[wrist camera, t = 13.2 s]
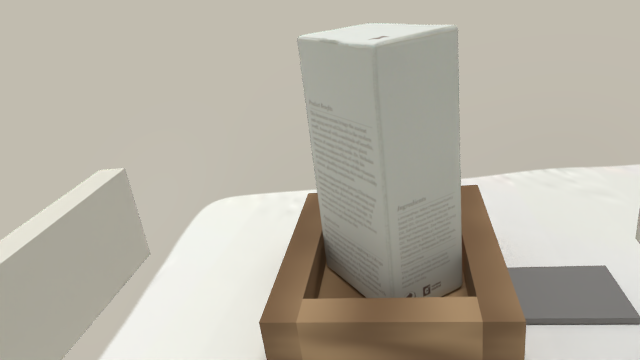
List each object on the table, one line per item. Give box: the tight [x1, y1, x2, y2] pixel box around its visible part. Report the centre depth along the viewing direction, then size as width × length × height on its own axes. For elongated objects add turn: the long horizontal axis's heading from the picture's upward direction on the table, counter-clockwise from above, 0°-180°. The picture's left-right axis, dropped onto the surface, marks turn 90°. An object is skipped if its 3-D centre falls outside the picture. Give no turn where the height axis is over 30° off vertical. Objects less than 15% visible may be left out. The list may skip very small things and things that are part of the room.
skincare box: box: [297, 23, 462, 298], centre depth 23 cm, size 6×4×12 cm
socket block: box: [259, 185, 526, 360], centre depth 25 cm, size 10×12×3 cm
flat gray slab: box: [507, 266, 640, 324], centre depth 23 cm, size 5×4×1 cm
